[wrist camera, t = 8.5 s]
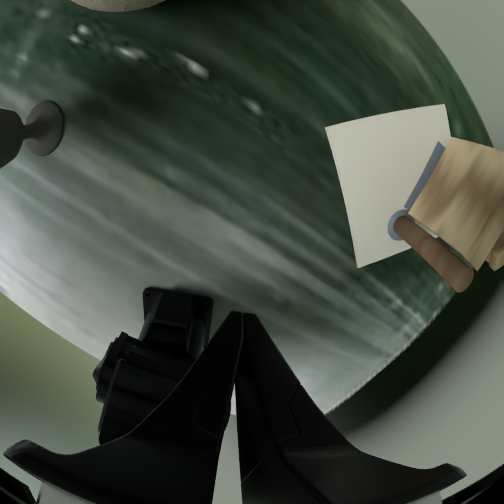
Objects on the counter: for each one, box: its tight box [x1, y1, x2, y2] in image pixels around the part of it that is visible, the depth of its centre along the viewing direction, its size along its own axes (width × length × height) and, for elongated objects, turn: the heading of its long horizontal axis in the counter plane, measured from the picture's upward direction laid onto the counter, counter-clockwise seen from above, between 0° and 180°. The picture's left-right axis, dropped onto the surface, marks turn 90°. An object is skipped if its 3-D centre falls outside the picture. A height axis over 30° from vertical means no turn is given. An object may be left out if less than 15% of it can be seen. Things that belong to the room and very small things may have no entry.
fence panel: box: [408, 137, 504, 271], centre depth 15 cm, size 9×1×9 cm, turn 152°
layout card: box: [325, 104, 451, 268], centre depth 20 cm, size 12×12×1 cm
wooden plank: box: [393, 216, 504, 292], centre depth 17 cm, size 8×2×9 cm, turn 110°
